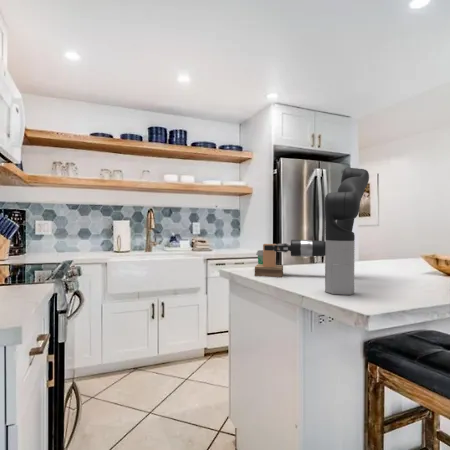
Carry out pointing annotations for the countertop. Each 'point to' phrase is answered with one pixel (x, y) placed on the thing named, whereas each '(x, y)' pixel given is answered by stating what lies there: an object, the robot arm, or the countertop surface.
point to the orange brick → (269, 257)
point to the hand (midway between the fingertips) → (265, 247)
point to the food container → (260, 256)
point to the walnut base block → (269, 271)
